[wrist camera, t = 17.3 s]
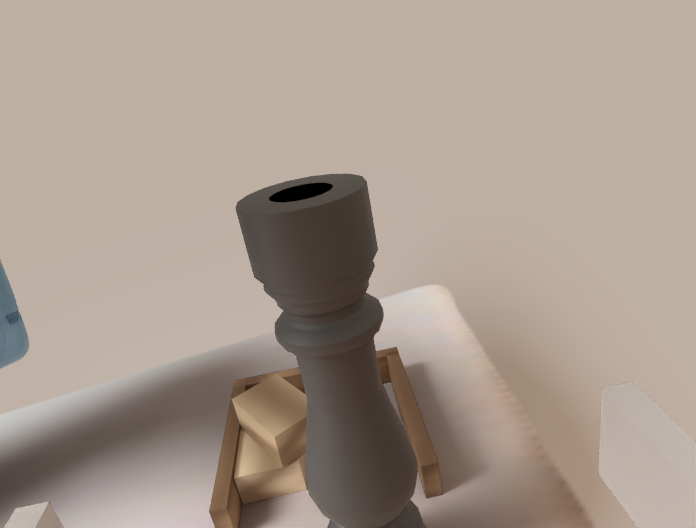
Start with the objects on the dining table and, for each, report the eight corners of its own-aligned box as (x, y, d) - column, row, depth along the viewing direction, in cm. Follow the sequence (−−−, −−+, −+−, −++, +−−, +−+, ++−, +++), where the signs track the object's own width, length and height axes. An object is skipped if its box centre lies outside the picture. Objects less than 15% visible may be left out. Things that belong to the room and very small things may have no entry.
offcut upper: (283, 468, 38) (274, 437, 36) (240, 427, 43) (231, 399, 42) (329, 436, 40) (322, 406, 39) (283, 401, 45) (276, 373, 44)
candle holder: (319, 615, 30) (198, 218, 20) (361, 527, 35) (279, 176, 25) (418, 654, 27) (331, 214, 18) (448, 553, 32) (393, 168, 23)
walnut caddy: (220, 542, 36) (209, 511, 35) (242, 405, 50) (234, 380, 49) (442, 494, 36) (438, 462, 35) (400, 372, 51) (396, 347, 49)
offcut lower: (244, 507, 39) (233, 477, 38) (251, 436, 46) (243, 410, 45) (307, 492, 39) (299, 463, 38) (304, 425, 46) (297, 398, 45)
